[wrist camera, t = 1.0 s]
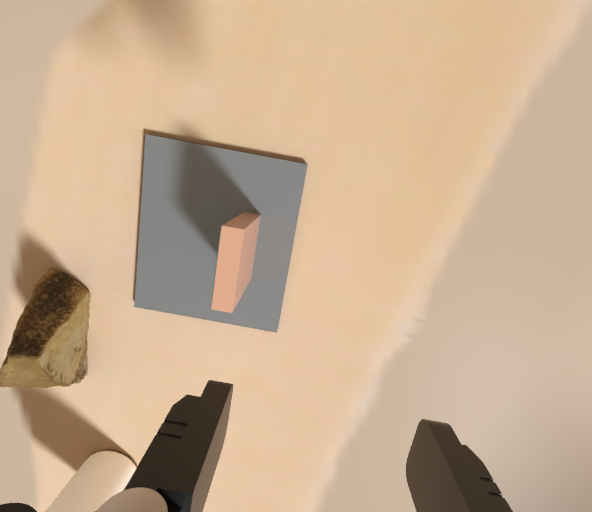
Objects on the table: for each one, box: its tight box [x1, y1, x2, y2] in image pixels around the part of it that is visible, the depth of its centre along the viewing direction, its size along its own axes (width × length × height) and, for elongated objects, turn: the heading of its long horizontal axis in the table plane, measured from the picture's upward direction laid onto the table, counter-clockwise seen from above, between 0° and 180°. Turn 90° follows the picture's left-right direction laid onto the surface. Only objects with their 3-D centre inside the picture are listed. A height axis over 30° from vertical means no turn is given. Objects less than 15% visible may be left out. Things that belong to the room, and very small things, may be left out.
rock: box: [0, 269, 90, 388], centre depth 31 cm, size 11×9×10 cm
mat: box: [134, 134, 307, 332], centre depth 31 cm, size 16×14×1 cm
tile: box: [211, 212, 261, 313], centre depth 26 cm, size 6×2×8 cm, turn 170°
